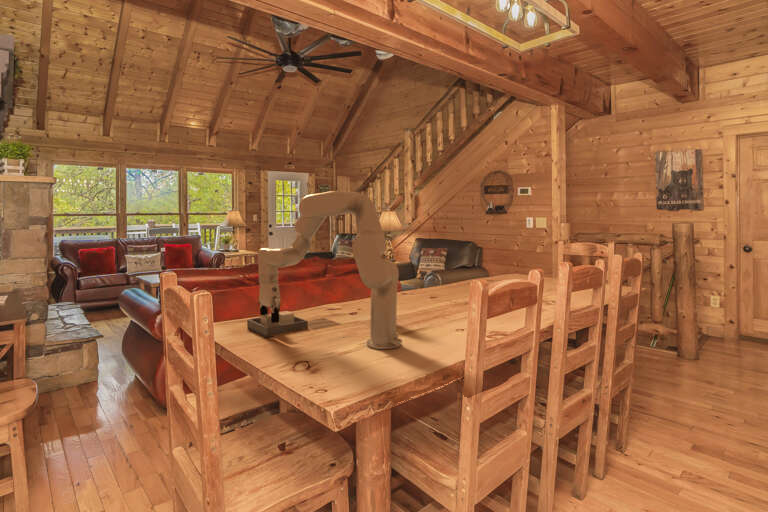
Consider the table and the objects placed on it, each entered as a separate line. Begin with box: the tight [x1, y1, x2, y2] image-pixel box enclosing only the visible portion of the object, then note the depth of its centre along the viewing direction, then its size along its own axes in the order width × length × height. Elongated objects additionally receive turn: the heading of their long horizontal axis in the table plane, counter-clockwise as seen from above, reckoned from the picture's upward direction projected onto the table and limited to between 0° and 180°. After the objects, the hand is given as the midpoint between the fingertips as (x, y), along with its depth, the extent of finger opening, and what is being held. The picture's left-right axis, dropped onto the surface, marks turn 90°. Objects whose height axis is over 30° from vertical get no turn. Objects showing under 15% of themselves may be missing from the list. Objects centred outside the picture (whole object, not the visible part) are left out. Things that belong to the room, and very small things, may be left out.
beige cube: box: [259, 313, 279, 327], centre depth 183 cm, size 6×6×6 cm
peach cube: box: [279, 310, 295, 325], centre depth 187 cm, size 6×6×6 cm
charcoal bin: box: [246, 315, 309, 339], centre depth 185 cm, size 18×18×4 cm
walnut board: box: [307, 317, 342, 331], centre depth 192 cm, size 14×14×1 cm
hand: (269, 320), depth 183 cm, fingers open, 9 cm apart
